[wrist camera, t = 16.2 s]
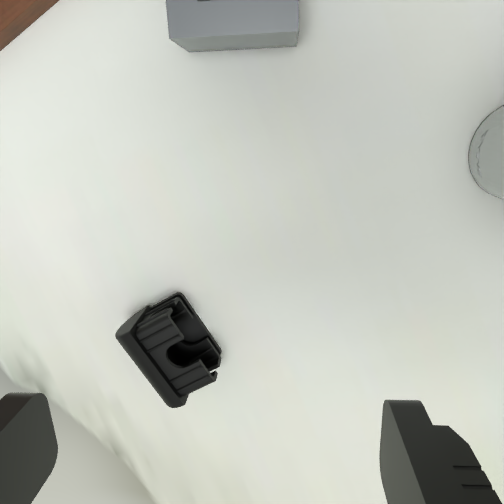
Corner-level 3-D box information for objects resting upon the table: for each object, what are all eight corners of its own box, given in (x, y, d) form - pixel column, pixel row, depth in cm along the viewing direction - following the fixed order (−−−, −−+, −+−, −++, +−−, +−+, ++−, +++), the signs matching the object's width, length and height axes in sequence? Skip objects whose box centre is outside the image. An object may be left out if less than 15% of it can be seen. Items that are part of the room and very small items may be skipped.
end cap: (128, 314, 48) (105, 344, 42) (178, 286, 46) (161, 314, 40) (176, 378, 50) (161, 417, 44) (225, 354, 49) (216, 391, 42)
